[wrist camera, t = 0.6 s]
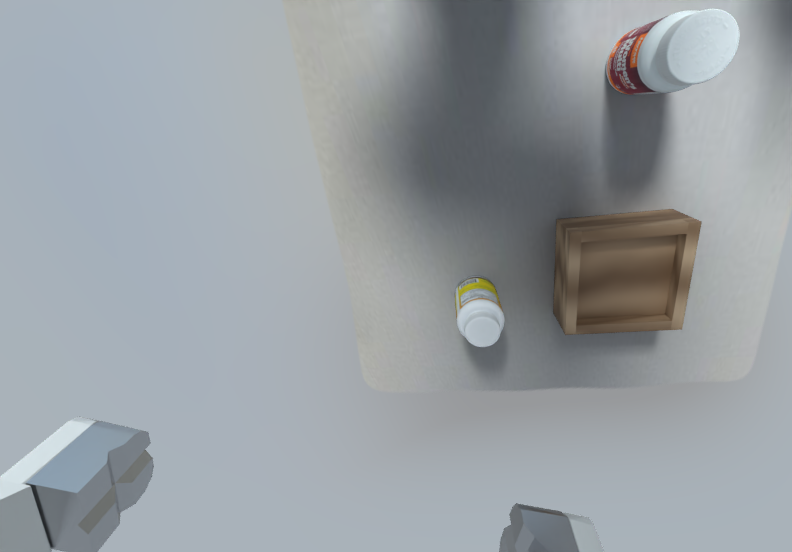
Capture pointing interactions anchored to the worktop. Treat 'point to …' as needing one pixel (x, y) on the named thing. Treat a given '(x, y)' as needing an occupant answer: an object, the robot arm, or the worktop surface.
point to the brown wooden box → (624, 271)
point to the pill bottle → (673, 52)
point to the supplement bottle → (478, 311)
